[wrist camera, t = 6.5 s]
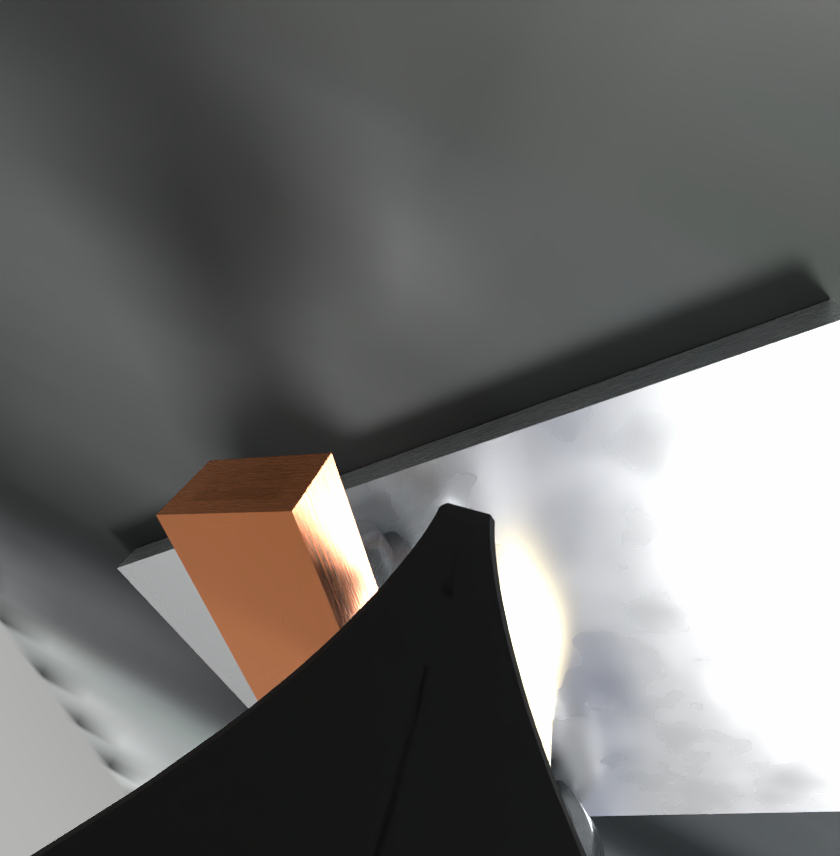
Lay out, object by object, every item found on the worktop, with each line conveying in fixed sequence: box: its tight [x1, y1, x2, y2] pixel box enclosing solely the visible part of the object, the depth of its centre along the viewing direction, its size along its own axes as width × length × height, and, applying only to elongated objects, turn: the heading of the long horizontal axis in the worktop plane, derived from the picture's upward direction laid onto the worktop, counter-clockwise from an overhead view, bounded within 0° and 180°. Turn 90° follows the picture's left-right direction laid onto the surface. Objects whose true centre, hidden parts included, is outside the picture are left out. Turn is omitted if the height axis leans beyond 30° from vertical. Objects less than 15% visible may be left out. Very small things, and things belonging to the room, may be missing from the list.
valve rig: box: [117, 299, 840, 856], centre depth 16 cm, size 16×22×6 cm
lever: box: [156, 453, 378, 701], centre depth 11 cm, size 14×3×1 cm, turn 13°
